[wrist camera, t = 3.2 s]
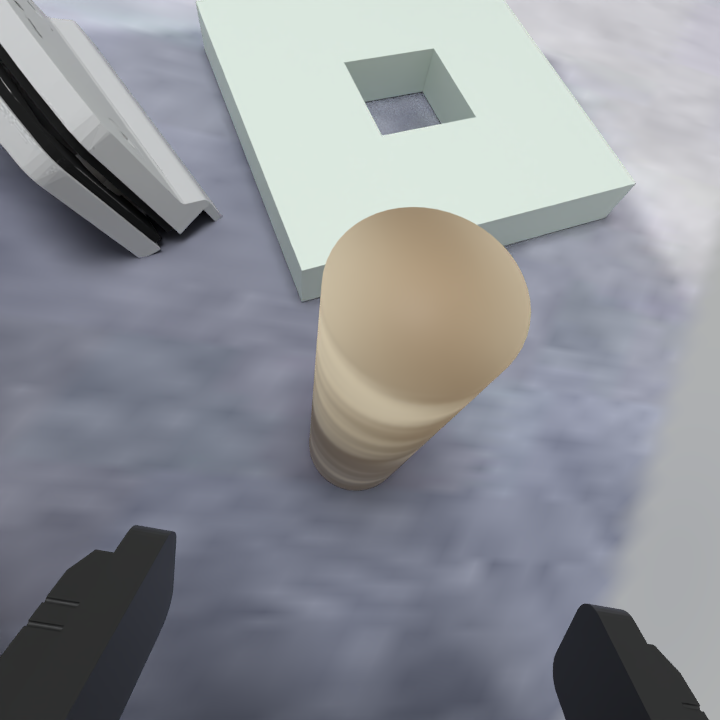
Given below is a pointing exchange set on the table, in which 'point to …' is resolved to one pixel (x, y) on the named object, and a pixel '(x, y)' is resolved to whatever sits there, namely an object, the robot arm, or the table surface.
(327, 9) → the collar block
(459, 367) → the birch pin
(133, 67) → the table surface
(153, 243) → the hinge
